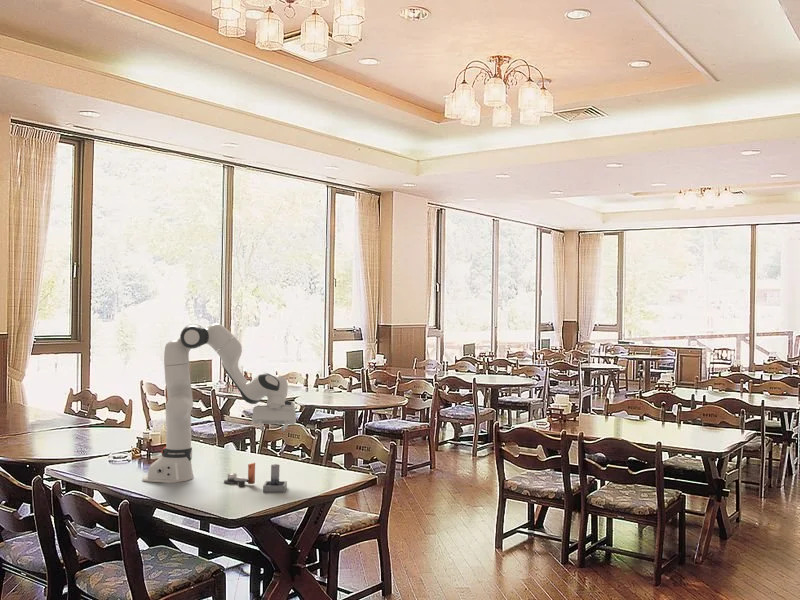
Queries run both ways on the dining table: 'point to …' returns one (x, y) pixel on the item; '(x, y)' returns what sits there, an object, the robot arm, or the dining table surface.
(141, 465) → the dining table surface
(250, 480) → the crank
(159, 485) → the dining table surface
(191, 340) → the robot arm
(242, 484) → the stop block
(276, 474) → the pin
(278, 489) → the tray
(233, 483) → the crank base
